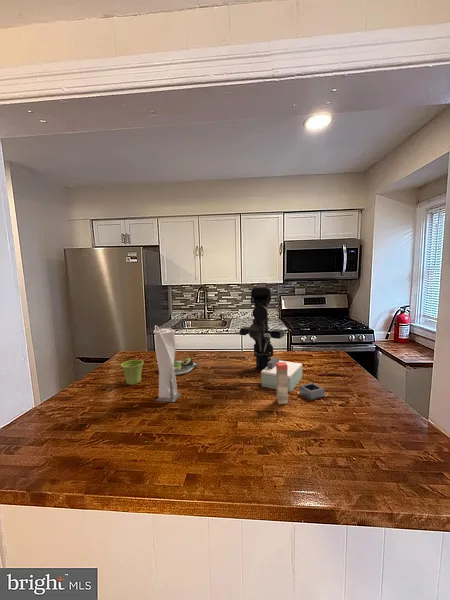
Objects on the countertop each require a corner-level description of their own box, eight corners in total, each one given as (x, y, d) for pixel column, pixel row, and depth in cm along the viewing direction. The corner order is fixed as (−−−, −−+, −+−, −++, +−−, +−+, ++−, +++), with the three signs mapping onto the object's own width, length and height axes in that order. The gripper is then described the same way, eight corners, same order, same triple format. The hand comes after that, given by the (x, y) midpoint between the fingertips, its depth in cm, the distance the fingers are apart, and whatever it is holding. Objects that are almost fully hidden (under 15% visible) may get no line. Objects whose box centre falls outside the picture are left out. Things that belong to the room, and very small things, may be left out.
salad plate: (183, 380, 127) (183, 370, 126) (149, 376, 133) (149, 366, 133) (202, 366, 145) (201, 357, 144) (171, 363, 151) (171, 354, 151)
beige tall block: (276, 399, 104) (275, 362, 103) (285, 399, 104) (284, 362, 103) (278, 403, 101) (278, 365, 99) (287, 403, 101) (287, 365, 100)
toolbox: (261, 386, 117) (261, 374, 116) (276, 373, 130) (275, 362, 130) (290, 391, 110) (290, 379, 110) (302, 377, 124) (302, 366, 123)
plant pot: (145, 384, 123) (144, 364, 122) (122, 388, 120) (121, 368, 119) (143, 376, 132) (142, 358, 131) (121, 380, 129) (120, 361, 128)
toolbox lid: (261, 373, 116) (261, 365, 116) (275, 362, 130) (275, 354, 129) (290, 378, 110) (289, 369, 109) (302, 365, 123) (302, 358, 123)
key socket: (299, 393, 109) (299, 385, 108) (312, 390, 111) (312, 382, 111) (311, 400, 103) (310, 392, 102) (324, 396, 105) (324, 388, 105)
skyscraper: (153, 400, 107) (148, 327, 104) (162, 391, 115) (158, 323, 112) (174, 402, 105) (169, 327, 102) (182, 392, 113) (178, 323, 110)
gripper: (232, 318, 120) (233, 354, 121) (274, 320, 110) (275, 360, 112) (244, 313, 129) (245, 347, 131) (284, 316, 119) (285, 352, 121)
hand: (261, 351), depth 123 cm, fingers closed
